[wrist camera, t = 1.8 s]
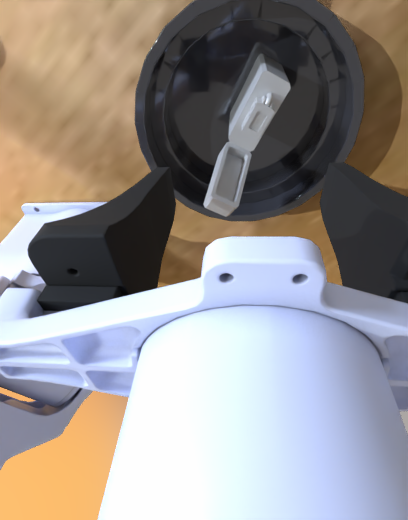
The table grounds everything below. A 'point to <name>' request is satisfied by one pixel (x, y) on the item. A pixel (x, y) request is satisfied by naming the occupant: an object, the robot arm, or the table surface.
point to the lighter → (246, 132)
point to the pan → (229, 87)
